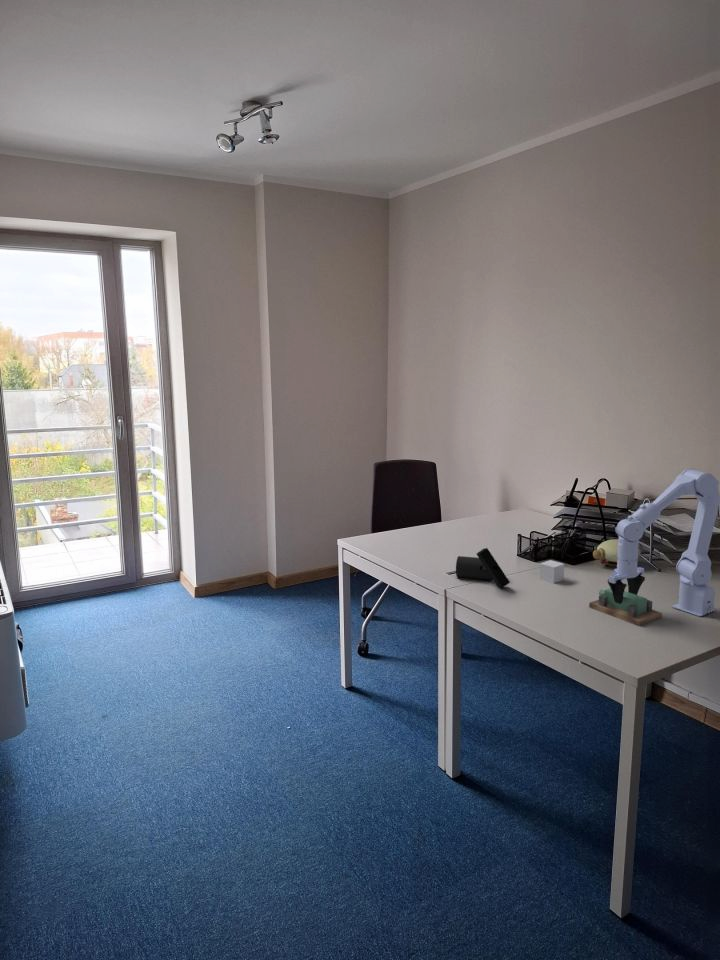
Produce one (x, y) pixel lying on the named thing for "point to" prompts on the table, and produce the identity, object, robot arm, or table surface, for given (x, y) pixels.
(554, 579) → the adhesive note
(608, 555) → the cream rounded piece
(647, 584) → the table surface
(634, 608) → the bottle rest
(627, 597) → the green bottle
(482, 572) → the track light
